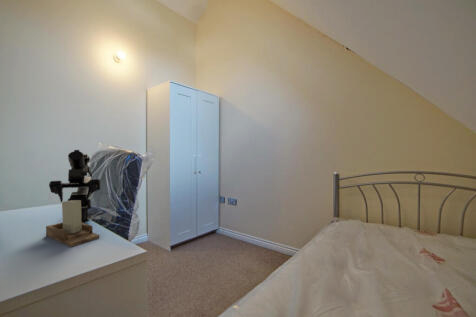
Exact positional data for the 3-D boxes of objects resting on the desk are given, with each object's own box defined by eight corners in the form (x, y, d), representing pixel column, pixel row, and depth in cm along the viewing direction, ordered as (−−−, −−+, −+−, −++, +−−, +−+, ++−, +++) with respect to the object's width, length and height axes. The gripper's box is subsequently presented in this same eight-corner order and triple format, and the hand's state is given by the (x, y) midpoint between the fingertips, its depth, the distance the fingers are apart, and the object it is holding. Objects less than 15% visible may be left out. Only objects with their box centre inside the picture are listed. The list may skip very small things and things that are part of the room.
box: (82, 230, 90) (82, 200, 90) (72, 234, 86) (72, 202, 86) (71, 229, 91) (71, 199, 91) (61, 233, 87) (61, 202, 87)
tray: (73, 228, 98) (73, 219, 98) (99, 237, 88) (99, 228, 88) (46, 235, 89) (46, 226, 89) (70, 247, 79) (70, 236, 79)
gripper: (49, 162, 94) (43, 191, 85) (100, 162, 104) (98, 188, 95) (54, 178, 101) (48, 206, 92) (100, 176, 111) (99, 202, 101)
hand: (74, 200), depth 95 cm, fingers open, 9 cm apart
